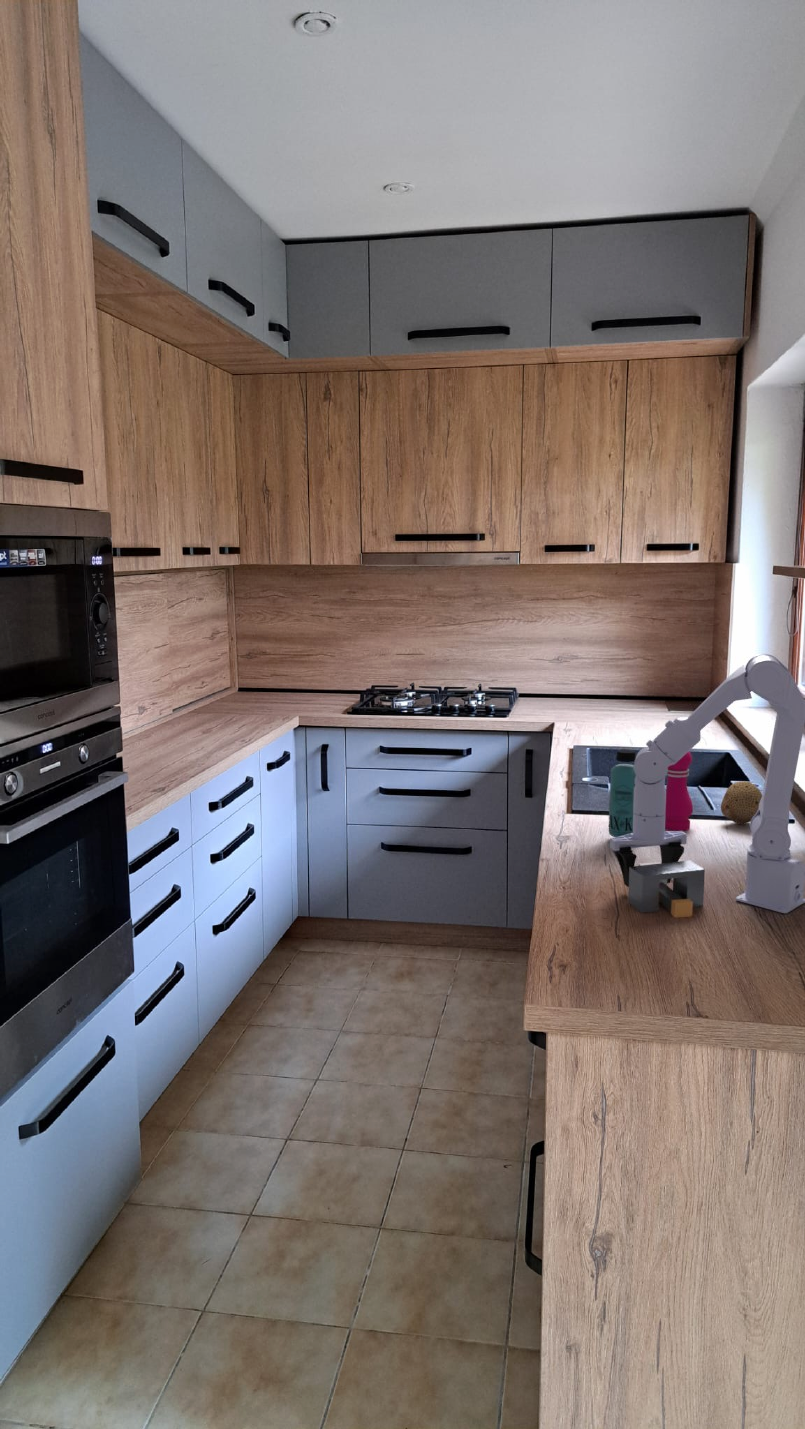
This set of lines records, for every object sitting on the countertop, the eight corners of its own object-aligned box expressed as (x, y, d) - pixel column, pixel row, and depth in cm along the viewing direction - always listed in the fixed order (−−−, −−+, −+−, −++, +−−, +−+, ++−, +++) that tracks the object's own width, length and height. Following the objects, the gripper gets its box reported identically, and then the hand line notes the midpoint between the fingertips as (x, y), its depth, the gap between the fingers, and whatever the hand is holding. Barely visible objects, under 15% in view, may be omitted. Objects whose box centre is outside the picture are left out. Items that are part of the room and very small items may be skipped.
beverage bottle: (605, 836, 215) (607, 746, 211) (636, 835, 215) (638, 746, 211) (610, 845, 209) (612, 753, 205) (642, 845, 208) (644, 753, 205)
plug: (694, 915, 170) (695, 891, 170) (672, 917, 170) (673, 892, 169) (658, 884, 185) (659, 862, 185) (638, 886, 185) (638, 863, 184)
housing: (703, 905, 175) (704, 869, 173) (641, 913, 172) (642, 876, 171) (688, 895, 180) (689, 860, 178) (628, 902, 177) (629, 866, 175)
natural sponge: (773, 827, 219) (775, 783, 218) (743, 832, 216) (745, 789, 214) (742, 816, 227) (744, 775, 226) (713, 822, 224) (715, 779, 222)
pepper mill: (680, 834, 215) (683, 745, 212) (652, 827, 221) (654, 740, 217) (698, 827, 220) (702, 740, 216) (670, 820, 225) (673, 735, 222)
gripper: (674, 803, 185) (671, 872, 188) (603, 810, 182) (601, 880, 184) (693, 814, 178) (690, 885, 181) (620, 820, 175) (618, 893, 178)
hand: (647, 883), depth 182 cm, fingers open, 7 cm apart
